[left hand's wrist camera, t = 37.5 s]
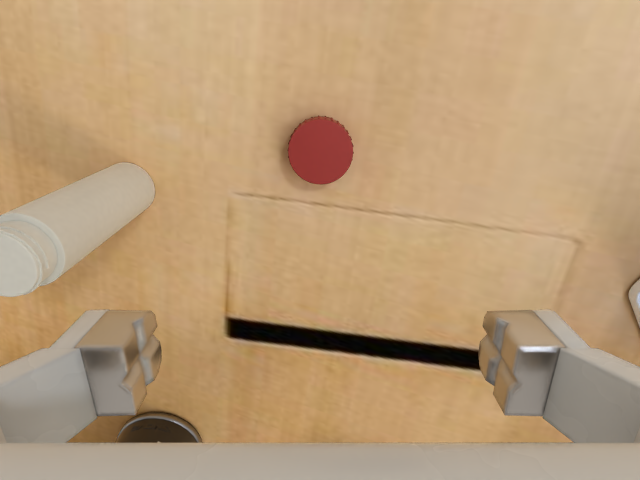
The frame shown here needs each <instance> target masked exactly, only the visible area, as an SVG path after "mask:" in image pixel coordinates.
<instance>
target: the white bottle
mask: <svg viewBox="0 0 640 480" xmlns="http://www.w3.org/2000/svg"><path fill="white" fill-rule="evenodd" d="M154 196H155V187H154V183H153V181H152V179H151V177H150V176H149V174H148V173H147V172H146V171H145V170H144V169H142V168H141V167H139V166H137V165H135V164H132V163H126V162H123V163H117V164H114V165H112V166H110V167H108V168H105V169H103V170H101V171H99V172H96V173H94V174H92V175H90V176H87V177H85V178H83V179H81V180H79V181H76V182H74V183H72V184H70V185H67V186H65V187H63V188H61V189H58V190H56V191H54V192H52V193H49V194H47V195H45V196H43V197H40V198H38V199H36V200H34V201H31V202H29V203H27V204H25V205H22V206H20V207H18V208H16V209H14V210H11V211H9V212H7V213H5V214H2V215H0V296H5V297H15V296H20V295H26V294H28V293H30V292H32V291H34V290H35V289H36V288H37V287H38V286H43V285H47V284H50V283H52V282H53V281H55V280H56V279H58V278H59V277H60V276H61V275H63V274H64V273H65V272H66V271H68V270H69V269H70V268H72V267H73V266H74V265H75V264H77V263H78V262H79V261H81V260H82V259H83V258H84V257H86V256H87V255H88V254H89V253H91V252H92V251H93V250H95V249H96V248H97V247H98V246H100V245H101V244H102V243H103V242H105V241H106V240H107V239H109V238H110V237H111V236H112V235H114V234H115V233H116V232H118V231H119V230H120V229H121V228H123V227H124V226H125V225H126V224H128V223H129V222H130V221H132V220H133V219H134V218H135V217H137V216H138V215H139V214H140V213H142V212H143V211H144V210H146V209H147V208H148V207H149V206H150V205H151V204H152V202H153V200H154Z"/></svg>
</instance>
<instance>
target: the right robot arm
mask: <svg viewBox="0 0 640 480" xmlns="http://www.w3.org/2000/svg"><path fill="white" fill-rule="evenodd" d="M115 443H202V440H201V437H200V436H199V434H198V432H197V431H196V430H195V429H194V428H193V427H192V426H191V425H190V424H189V423H187V422H186V421H184V420H183V419H181V418H179V417H176V416H173V415H170V414H166V413H145V414H141V415H138V416H136V417H134V418H132V419H130V420H129V421H128V422H127V423H126V424H125V425H124V426H123V428H122V429H121V431H120V433H119V435H118V437H117V440H116V442H115Z"/></svg>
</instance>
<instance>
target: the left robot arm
mask: <svg viewBox="0 0 640 480" xmlns="http://www.w3.org/2000/svg"><path fill="white" fill-rule="evenodd" d="M628 296H629V300H630V303H631V306H632V308H633V311H634V314H635V317H636V319H637V322H638V325H639V328H640V279H639V280H638V281H637V282H636V283H635V284H634V285H633V286H632V287H631V289H630V290H629V294H628ZM156 328H157V322H156V318H155V314H154V313H153V312H152V311H142V310H88V311H85V312H84V313H83V315H82V316H81V317H80V318H79V319H78V320H77V321H76V322H75V323H74V324H73V325H72V326H71V327H70V328H69V329H68V330H67V331H66V332H65V333H64V334H63V335H62V336H61V337H60V338H59V339H58V340H57V341H56V342H55V343H54V344H53V345H52V346H51V347H50V348H42V349H39V350H37V351H35V352H33V353H30V354H28V355H26V356H24V357H21V358H19V359H17V360H15V361H12V362H10V363H8V364H6V365H3V366H1V367H0V480H640V367H639V366H637V365H634V364H632V363H630V362H628V361H625V360H623V359H621V358H619V357H616V356H614V355H612V354H610V353H607V352H605V351H603V350H601V349H598V348H590V347H589V346H588V345H587V344H586V343H585V342H584V341H583V340H582V339H581V338H580V337H579V336H578V335H577V334H576V333H575V332H574V331H573V329H572V328H571V327H570V326H569V325H568V324H567V323H566V322H565V321H564V320H563V319H562V318H561V317H560V316H559V315H558V314H557V313H556V312H555V311H552V310H549V309H547V310H518V311H487V313H486V315H485V317H484V322H483V328H484V329H485V331H486V332H487V335H486V336H485V337H484V338H483V339H482V340H481V341H480V346H479V365H480V368H481V371H482V374H483V376H484V378H485V380H486V381H488V382H489V383H491V384H492V385H494V391H493V395H494V396H495V398H496V400H497V402H498V404H499V406H500V407H501V409H502V411H503V413H504V415H517V416H543V418H544V419H545V420H546V421H547V422H549V423H550V424H551V425H552V426H554V427H555V428H556V429H558V430H559V431H560V432H561V433H563V434H564V435H565V436H566V437H568V438H569V439H570V440H571V441H573V442H574V443H66V442H67V441H69V440H70V439H71V438H72V437H74V436H75V435H76V434H78V433H79V432H80V431H81V430H83V429H84V428H85V427H86V426H88V425H89V424H90V423H92V422H93V421H94V420H95V419H97V416H122V415H136V413H137V411H138V409H139V407H140V406H141V404H142V402H143V400H144V398H145V396H146V395H147V391H146V385H148V384H149V383H151V382H152V381H154V380H155V378H156V376H157V374H158V372H159V368H160V363H161V345H160V341H159V340H158V339H157V338H156V337H155V336H154V335H153V332H154V331H155V329H156Z"/></svg>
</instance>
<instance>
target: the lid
mask: <svg viewBox="0 0 640 480" xmlns="http://www.w3.org/2000/svg"><path fill="white" fill-rule="evenodd" d="M348 134H349V133H348V131H347V130H345V128H344V126H343V125H341V124H340V123H339V122H338V121H335V120H333V118H327V117H326V116H325V117H319V116H318V117H314V118H313V117H311V118H310V119H308V120H305V121H304V122H303V123H300V124H299V126H298V127H297V128H295V130H294V133H293V134H292V135H291V140H290V141H289V148H288V155H289V156H288V158H289V160H290V164H291V166H292V168H293V170H294V171H295V172H296V173H297V174H298V175H299V176H300V177H301V178H302V179H304V180H306V181H308V182H310V183H314V184H327V183H331V182H334V181H336V180H337V179H339V178H340V177H341V176H343V175H344V174H345V172H346V171H347V170H348V168H349V167H350V164H351V161H352V157H353V144H352V142H351V140H352V139H351V137H350V136H349V135H348Z"/></svg>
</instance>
